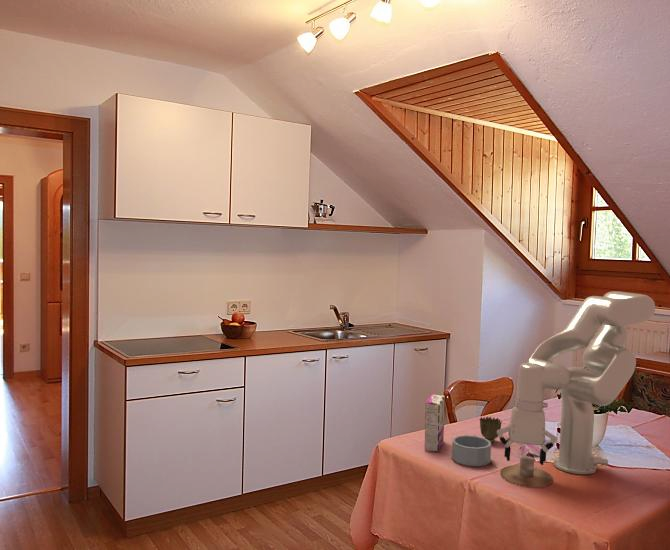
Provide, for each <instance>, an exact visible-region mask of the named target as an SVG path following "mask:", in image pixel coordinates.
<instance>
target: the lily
mask: <svg viewBox="0 0 670 550" xmlns="http://www.w3.org/2000/svg"><path fill="white" fill-rule="evenodd" d="M512 445H516V446H519V450H520V453H521V457H522V456H527V454H529V452H531V453H533V454H534V455H536V456H537V457H539V456H540V449H541V446H540V445H533V444H524V443H516V442H513V443H512Z"/></svg>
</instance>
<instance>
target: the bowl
mask: <svg viewBox="0 0 670 550" xmlns="http://www.w3.org/2000/svg"><path fill="white" fill-rule="evenodd" d="M451 439H452V440H451V441H452V445H451V459H452V460H453V461H454V462H455V463H457V464H458V465H459V464H460V465H463V466H466V467H471V468H472V467H473V468H474V467H485V466H487V465H488V464H490V463H491V461H492V460H491V456H492V443H491V442H490V441H489V440H487V439H485V437H483V436H482V437H481V436H477V435H469V434H468V435H467V434H465V435H456V436H455V437H453V438H451Z"/></svg>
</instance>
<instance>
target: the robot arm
mask: <svg viewBox="0 0 670 550" xmlns="http://www.w3.org/2000/svg"><path fill="white" fill-rule="evenodd" d="M655 311H656V305H655V301H654V299H653V298H652V297H650V296H648V295H646V294H643V293H642V294H641V293H635V292H634V293H633V292H626V291H616V290H615V291H609V292H606V293H605V294H603V296H600V295H591V296H588V297H586V298H585V299H584V300H583V301H582V302H581V304H580V305H579V306H578V308H577V310H576V311H575V313H574V314H573V316H572V317H571V318H570V320H569V321H568V323H567V324H566V326H565V327H564V328H563V330H562V331H560V332H558V333H556V334H554V335H553V336H550V337H549V338H548V339H546V340H544V341H542V342H541V343H540V344H539V345H538V346H537V347H536V348H535V350H534V351H533V352H532V354H531V355H530V357H529V359H527V361H526V362H523V363H521V364H520V365H519V367H518V373H517V375H518V376H517V387H516V388H517V389H516V400H515V406H513V407H512V409H511V414H510V417H509V418H510V419H509V425H508V426H505V427H501V429H499V430H497V434H498V438H499V440H500V442H501V443H502V444H503V445H504V458H506V462H510V461H511V450H512V447H511V446H512V445H513V442H516V443H524V444H533V445H539V446H540V457H539V460H538V461H539V464H540V465H541V466H543V465H544V462H546V461H547V452H548V451H549V450H551V449H552V448H553V447H554V446H555V444H556V443H557V441H558V437H557V436H555V435H554V434H553V433H551V432H549V431H548V430H546V415H545V411H544V409H547V408H548V404H549V403H548V402H545V401H544V391H545V389H547V390H560V396H561V413H560V415H561V416H560V417H561V418H560V429H559V430H560V432H559V433H560V434H559V435H560V436H559V448H558V449H559V450H558V453H559V454H558V457H555V458H554V459H553V466H554V467H555V468H557V469H558V470H560V471H563V472H565V473H570V474H574V475H575V474H576V475H590V474H594V473H596V471H597V466H598V465H599V466H606V467H607V466H608V465H609V460H608V459H607V458H602V456H594V455H593V443H594V441H593V439H594V438H593V437H594V426H595V425H594V423H595V411H594V406H593V405H596V406H599V407H607V406H609V405H611V404H612V403H613V402H615V400H616V399H617V397H618V396H619V395H620V393H621V392H622V391H623V389H624V388H625V386H626V385H627V383H629V381H630V379H631V378H632V376H633V375H634V372H635V370H636V365H637V359H636V355H635V354H634V352H633V351H632V350H631V349H630V348H627V347H625V345H626V344H627V342H628V339H629V333H628V329H627V327H629V326H632V325H638V324H642V323H645V322H647V321H649V320H651V318H652V317H653V316H654V314H655ZM582 349H585V351H584V352H583V354H582V357H581V361H582V364H583V366H585V368H584V367H581V366H570V367H566V366H564V365H562V364H560V363H555V362H553V360H554V359H555V358H557V357H558V356H560V355H562V354H565V353H569V352H575V351H578V350H582ZM505 433H508V438H507V439H506V438H505V437H504V435H503V434H505ZM546 437H547V438H549V439H550V440H549V441H548V442H547V443H545V442H546Z"/></svg>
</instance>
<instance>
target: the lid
mask: <svg viewBox="0 0 670 550" xmlns="http://www.w3.org/2000/svg"><path fill="white" fill-rule="evenodd" d="M500 477H501V478H502V479H503V480H504V479H505V481H506V482H508V483H510V484H511V485H512V484H513V485H515V484H516V485H517V486H519V485H520V486H519V487H524V486H526V487H525V488H533V487H538V488H544V487H545V486H546V487H548V485H549V486H550V485H552V484H553V482H554V481H553V480H554V479H553V476H552V475H551V474H550V473H549V472H547V471H545V470H544V469H540V468H537V467H535V459H534V457H531V456H527V455H526V456H522V455H521V456H520V457H519V464H518V465H517V464H516V465H508V466H505V467H502V468H501V470H500ZM551 483H552V484H551ZM546 487H545V488H546Z"/></svg>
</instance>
